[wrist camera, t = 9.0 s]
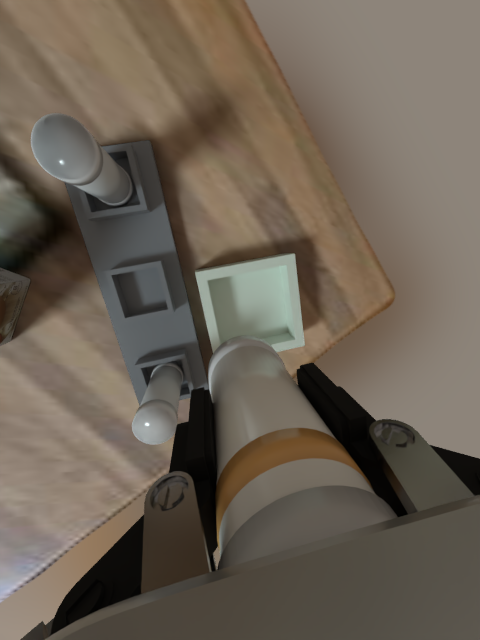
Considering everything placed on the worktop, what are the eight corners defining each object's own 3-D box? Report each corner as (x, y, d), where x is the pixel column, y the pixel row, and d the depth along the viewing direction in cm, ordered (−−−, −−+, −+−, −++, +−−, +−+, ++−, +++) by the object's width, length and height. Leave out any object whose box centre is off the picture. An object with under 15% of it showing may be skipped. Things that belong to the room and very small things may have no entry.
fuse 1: (88, 168, 28) (20, 117, 17) (127, 163, 28) (84, 109, 17) (101, 209, 29) (44, 185, 18) (138, 203, 29) (104, 176, 19)
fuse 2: (148, 364, 34) (126, 413, 24) (179, 357, 35) (170, 402, 24) (157, 390, 36) (139, 448, 25) (186, 383, 36) (181, 438, 25)
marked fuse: (201, 343, 14) (195, 623, 3) (274, 328, 14) (472, 537, 4) (215, 408, 15) (244, 766, 5) (283, 392, 15) (453, 689, 5)
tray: (195, 270, 34) (195, 272, 30) (284, 253, 35) (294, 253, 31) (214, 354, 37) (215, 365, 33) (294, 336, 38) (304, 345, 34)
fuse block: (62, 157, 28) (43, 145, 25) (152, 145, 29) (145, 131, 26) (142, 401, 37) (136, 415, 34) (208, 385, 38) (209, 398, 35)
